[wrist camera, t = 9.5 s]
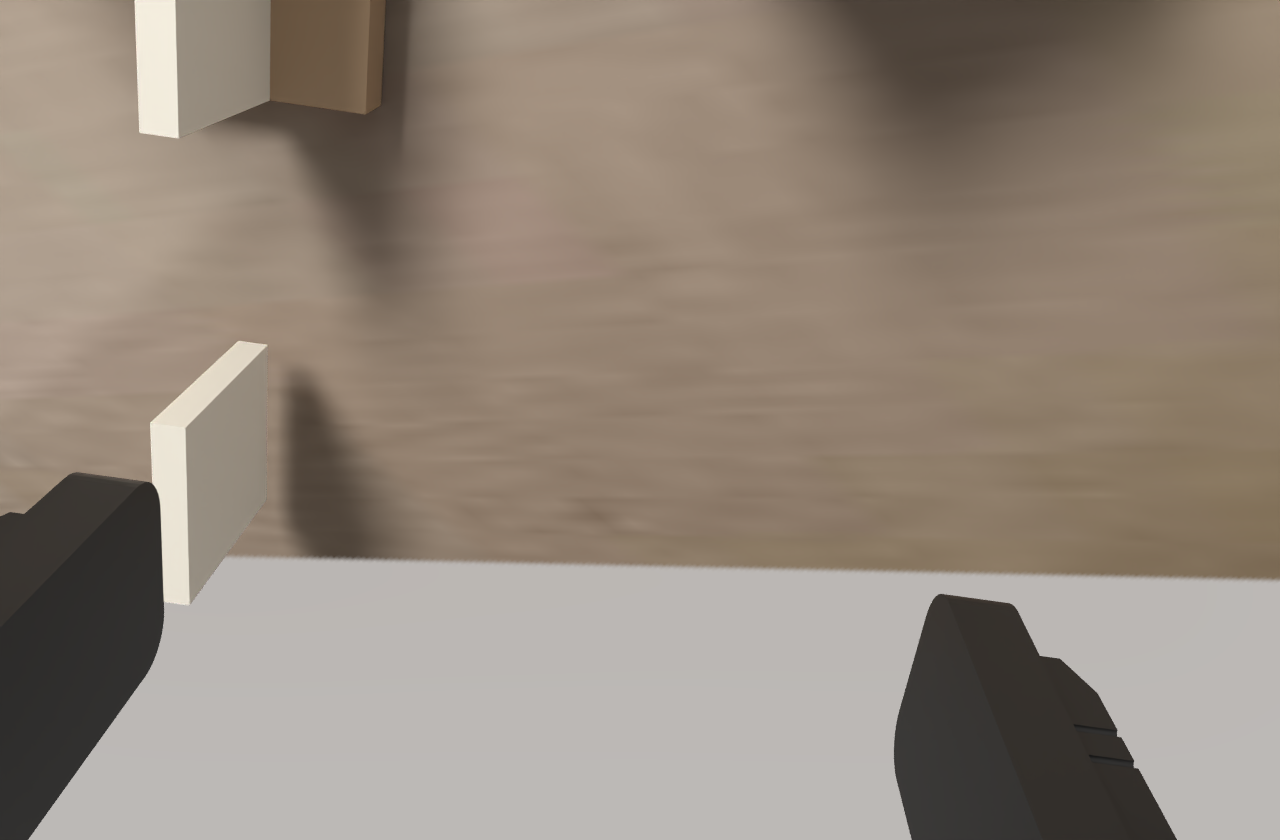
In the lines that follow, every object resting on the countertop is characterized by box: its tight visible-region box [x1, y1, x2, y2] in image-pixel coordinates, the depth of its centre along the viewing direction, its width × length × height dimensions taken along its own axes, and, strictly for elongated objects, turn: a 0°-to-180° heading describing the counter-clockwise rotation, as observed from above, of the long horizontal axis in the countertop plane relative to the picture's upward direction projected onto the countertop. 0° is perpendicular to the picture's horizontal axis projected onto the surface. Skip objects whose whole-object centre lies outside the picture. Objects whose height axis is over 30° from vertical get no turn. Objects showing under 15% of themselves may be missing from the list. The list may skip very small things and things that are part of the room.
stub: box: [150, 341, 268, 605], centre depth 37 cm, size 6×1×7 cm, turn 172°
